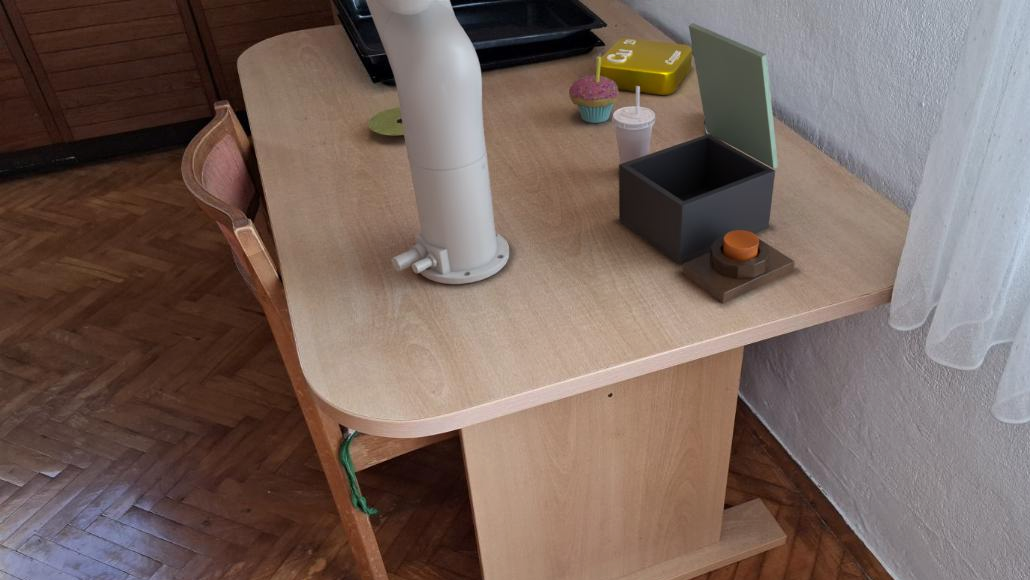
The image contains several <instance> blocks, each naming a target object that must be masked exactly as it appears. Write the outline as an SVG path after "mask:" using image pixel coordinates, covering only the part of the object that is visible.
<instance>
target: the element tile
mask: <svg viewBox="0 0 1030 580" xmlns="http://www.w3.org/2000/svg"><path fill="white" fill-rule="evenodd" d="M692 54H693V48H692V46H690V45H688V44H683V43H682V44H681V43H673V42H664V41H663V42H662V41H655V40H646V39H639V38H638V39H637V38H627V37H623V38H622V37H621V38H620V39H618V40H617V41H616V42H615V43H614V44H613V45H612V46H611V47H610V48H609V49H608V50H607V51H606V52H605V53H604V54H603V55H602V56H600V57H601V65H600V77H601V76H602V77H607V78H609V79H610V80H613V81H614V82H615V83H616V84H617V85H618V86H617V87H618V91H626V92H633V93H636V86H640V94H648V95H656V96H670V95H673V94H674V93H675V92H676V90H677V89H678V88H679V86H680V85H681V83H683V81H684V80H685V78H686V77H687V76H688V74H690V73H689V72H691V69H692V57H693V56H692Z"/></svg>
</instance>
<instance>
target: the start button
mask: <svg viewBox="0 0 1030 580" xmlns="http://www.w3.org/2000/svg"><path fill="white" fill-rule="evenodd" d="M759 239H760V238H759V236H757V234H756V233H755V234H754V233H752V232H749V231H745V230H735V231H731V232H728V233H727V234H726V235H725V236H724V241H723V254H724V255H725V256H726V257H728V258H730V259H734V260H738V261H743V260H751V259H753V258H755V257H756V256H757V254H758V245H759Z"/></svg>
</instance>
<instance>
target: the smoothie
mask: <svg viewBox="0 0 1030 580" xmlns="http://www.w3.org/2000/svg"><path fill="white" fill-rule="evenodd" d="M640 95H641V93H640V86H636V92H635V105H632V106H631V105H630V106H624V107H623V106H622V107H620V108H618V109H616V110H614V112H613V113H612V119H611V121H612V124H613V125H614V128H615V129H614V130H615V136H616V145H617V150H618V158H619V164H622V163H625V162H628V161H631V160H634V159H637V158H640V157H643V156H646V155H649V154H650V153H649V152H650V146H651V140H652V133H653V126H654V124H655V123H656V113H655V111H653V110H652V109H650V108H647V107H645V106H640V105H641V104H640V102H641V101H640V100H641V97H640Z"/></svg>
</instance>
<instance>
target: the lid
mask: <svg viewBox="0 0 1030 580" xmlns="http://www.w3.org/2000/svg"><path fill="white" fill-rule="evenodd" d="M688 29H689V36H690V41H691V48H692V54H693V60H694V65H695V71H696V77H697V82H698V88H699V89H698V90H699V95H700V101H701V106H702V111H703V112H702V113H703V117H704V118H705V124H706V130H707V132H708V133H709V135H711V136H713V137H715V138H717V139H719V140H720V141H722V142H724V143H726V144H728V145H729V146H731V147H733V148H735V149H737V150H739V151H740V152H742V153H744V154H746V155H748V156H749V157H751V158H753V159H755V160H757V161H759V162H760V163H762V164H764V165H766V166H768V167H769V168H771V169H773V170H775V169H776V168H777V167H778V166H779V162H778V154H777V145H776V144H777V143H776V134H775V125H774V123H775V122H774V114H773V104H772V97H771V95H772V94H771V86H770V85H771V84H770V77H769V76H770V75H769V67H768V56H767V54H766V53H764V52H762V51H759V50H757V49H755V48H753V47H751V46H748V45H746V44H743V43H742V42H739V41H736V40H734V39H731V38H729V37H727V36H724V35H722V34H719V33H717V32H715V31H713V30H711V29H708V28H706V27H703V26H701V25H699V24H697V23H695V22H693V23H691V24H689V25H688ZM704 118H703V119H704Z"/></svg>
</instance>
